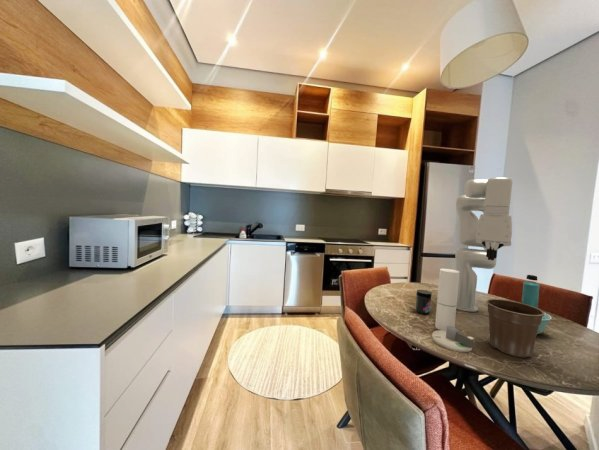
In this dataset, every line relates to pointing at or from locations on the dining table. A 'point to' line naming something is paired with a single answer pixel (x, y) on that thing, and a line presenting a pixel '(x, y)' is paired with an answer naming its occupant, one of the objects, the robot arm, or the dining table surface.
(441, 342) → the dial plate
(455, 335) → the friction peg
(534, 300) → the beverage bottle
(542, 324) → the bowl
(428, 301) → the supplement container
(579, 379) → the dining table surface
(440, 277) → the cylindrical container
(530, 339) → the plant pot
